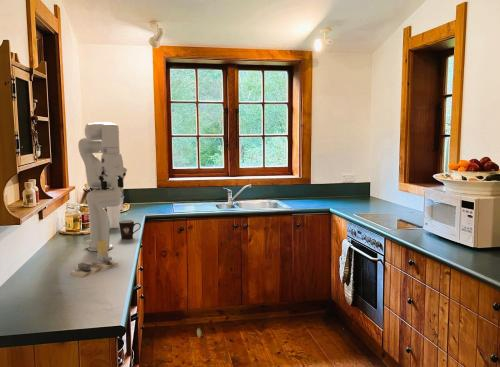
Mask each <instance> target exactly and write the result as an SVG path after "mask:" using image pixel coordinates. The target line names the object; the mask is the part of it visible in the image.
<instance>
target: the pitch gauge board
mask: <svg viewBox="0 0 500 367" xmlns="http://www.w3.org/2000/svg"><path fill="white" fill-rule="evenodd" d="M116 265H118V266H119V262H118V261H113V260H110V263H108V261H107V260H105V261H101V260H97V261H94V262H91V263H86V262H80V263H78V264H77V267H75V268H74V269H73V270H70V272H69V273H70V275H71V276H75V277H80V278H84V277H87V276H91V275H94V274H97V273H99V272H103V271H106V270H108V268H109V269H111V267H112V268H114V266H115V267H117V266H116ZM105 269H106V270H105ZM102 270H103V271H102Z"/></svg>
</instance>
